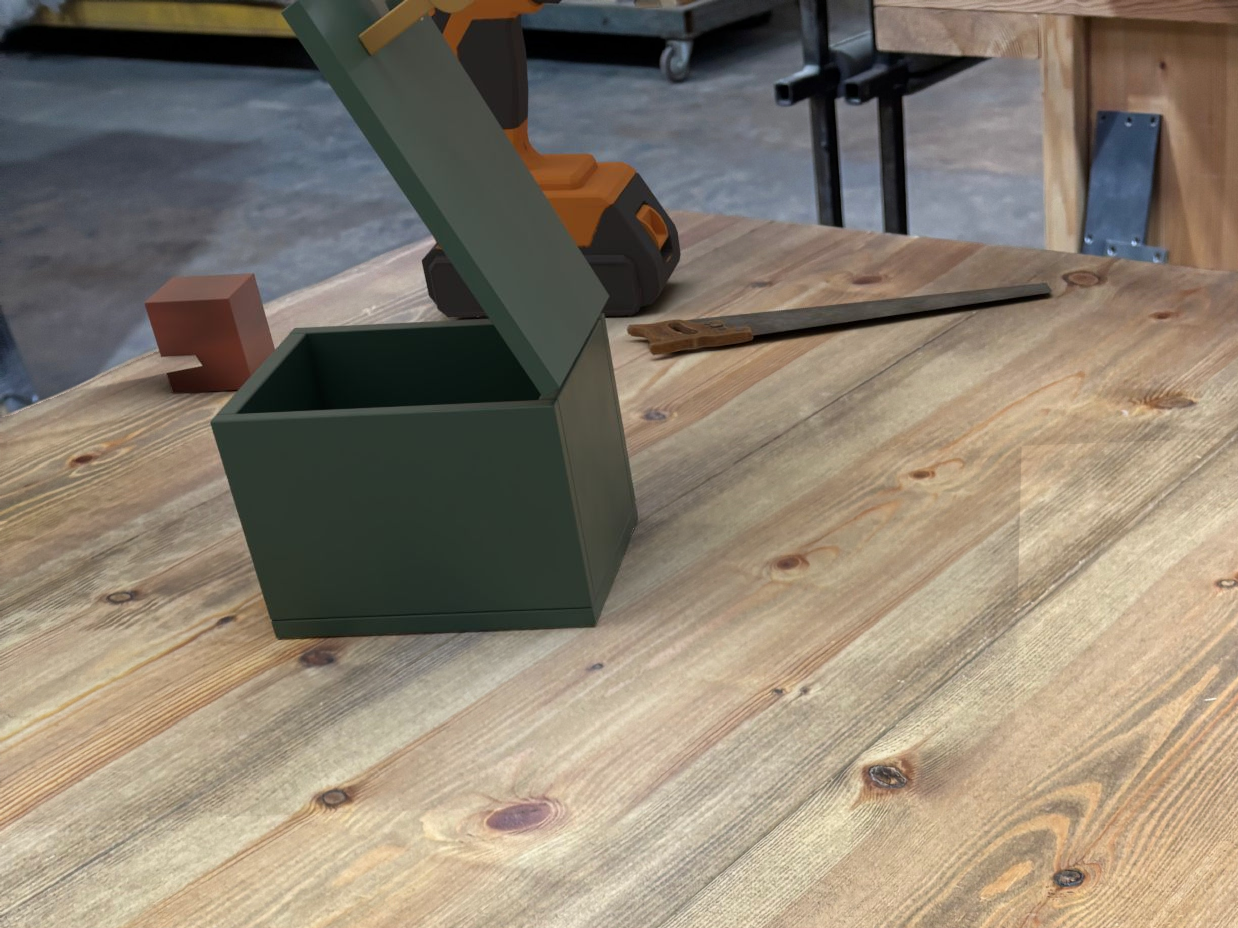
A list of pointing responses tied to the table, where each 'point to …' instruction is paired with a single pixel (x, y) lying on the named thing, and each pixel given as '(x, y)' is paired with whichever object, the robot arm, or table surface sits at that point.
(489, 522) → the chest
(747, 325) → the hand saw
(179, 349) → the block
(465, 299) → the power drill
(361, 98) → the lid
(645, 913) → the table surface
